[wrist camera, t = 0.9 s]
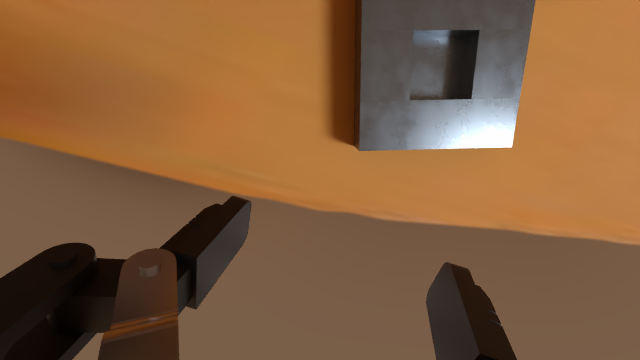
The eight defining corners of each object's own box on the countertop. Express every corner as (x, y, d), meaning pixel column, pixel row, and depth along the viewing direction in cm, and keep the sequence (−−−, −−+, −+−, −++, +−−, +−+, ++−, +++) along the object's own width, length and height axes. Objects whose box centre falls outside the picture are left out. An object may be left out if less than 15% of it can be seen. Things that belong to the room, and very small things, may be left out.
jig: (355, -13, 31) (362, -31, 27) (512, -15, 31) (540, -32, 27) (354, 146, 35) (359, 150, 31) (490, 142, 36) (511, 146, 32)
